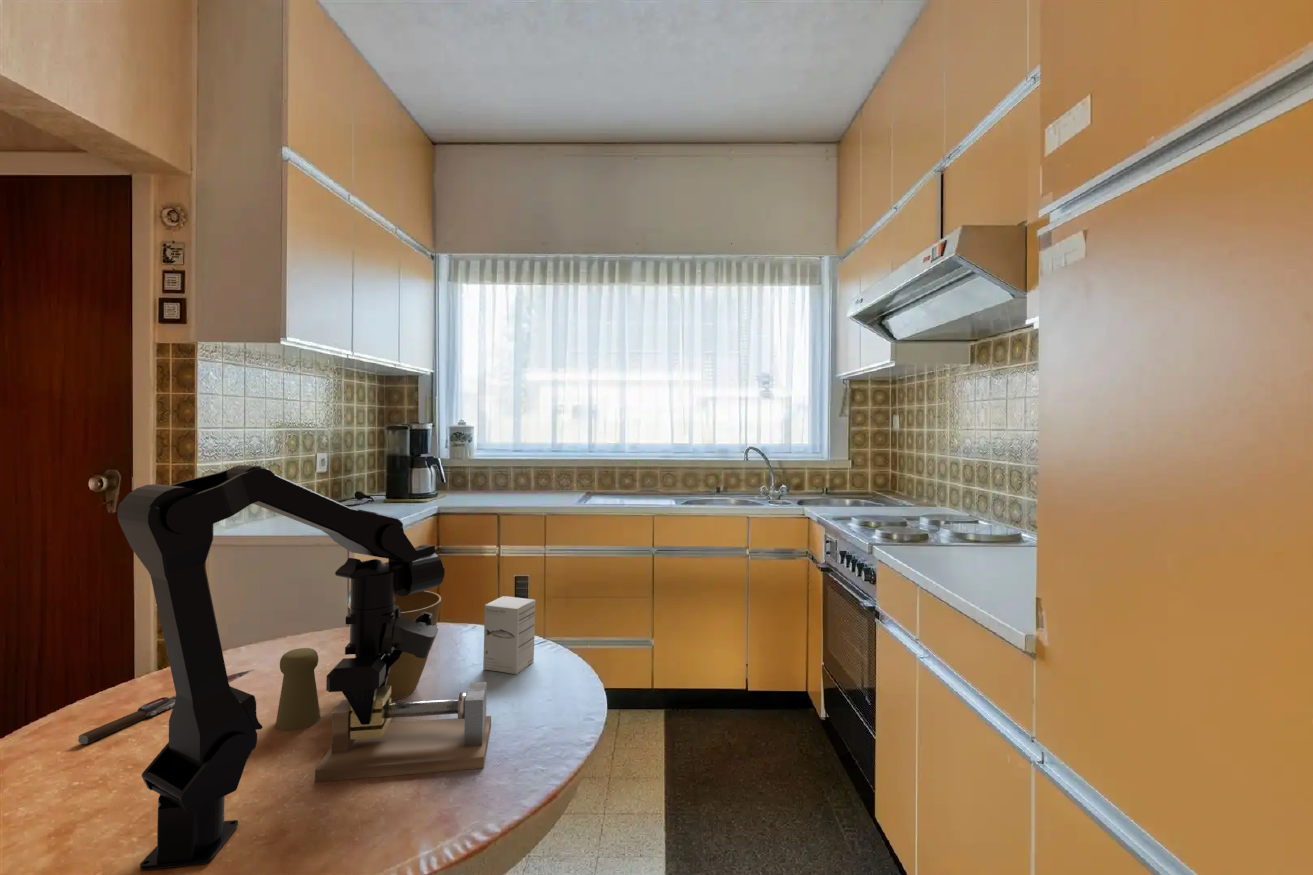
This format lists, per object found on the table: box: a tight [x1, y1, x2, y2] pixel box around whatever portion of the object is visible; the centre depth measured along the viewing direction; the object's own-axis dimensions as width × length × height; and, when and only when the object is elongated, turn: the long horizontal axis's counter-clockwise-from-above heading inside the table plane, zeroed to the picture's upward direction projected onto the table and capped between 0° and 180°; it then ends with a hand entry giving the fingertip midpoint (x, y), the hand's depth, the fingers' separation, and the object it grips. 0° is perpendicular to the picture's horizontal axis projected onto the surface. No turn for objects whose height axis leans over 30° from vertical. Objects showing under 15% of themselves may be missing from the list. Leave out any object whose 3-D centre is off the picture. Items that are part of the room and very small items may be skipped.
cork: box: [275, 647, 321, 731], centre depth 93 cm, size 6×6×11 cm
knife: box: [77, 669, 254, 745], centre depth 100 cm, size 3×2×30 cm
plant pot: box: [347, 590, 442, 701], centre depth 105 cm, size 15×15×16 cm
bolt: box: [350, 681, 488, 747], centre depth 85 cm, size 6×19×6 cm, turn 101°
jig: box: [314, 699, 492, 783], centre depth 85 cm, size 12×21×7 cm, turn 101°
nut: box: [350, 686, 392, 739], centre depth 84 cm, size 5×4×5 cm
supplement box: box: [482, 595, 537, 675], centre depth 117 cm, size 7×7×13 cm
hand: (371, 714), depth 84 cm, fingers closed on nut, 5 cm apart
